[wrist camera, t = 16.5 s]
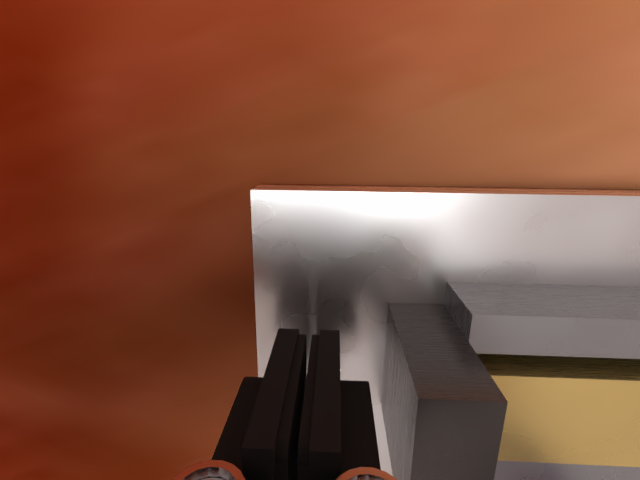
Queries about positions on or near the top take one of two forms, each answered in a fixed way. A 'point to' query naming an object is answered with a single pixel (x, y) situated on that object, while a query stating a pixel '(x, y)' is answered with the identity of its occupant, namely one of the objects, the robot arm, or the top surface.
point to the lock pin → (498, 403)
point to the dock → (451, 277)
